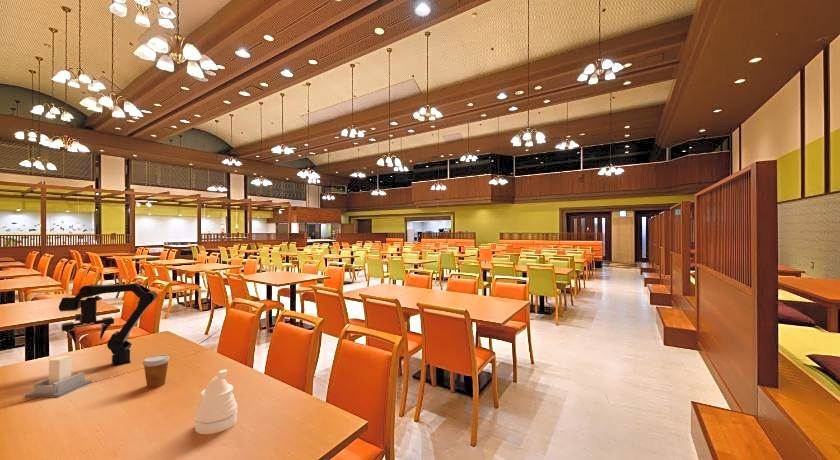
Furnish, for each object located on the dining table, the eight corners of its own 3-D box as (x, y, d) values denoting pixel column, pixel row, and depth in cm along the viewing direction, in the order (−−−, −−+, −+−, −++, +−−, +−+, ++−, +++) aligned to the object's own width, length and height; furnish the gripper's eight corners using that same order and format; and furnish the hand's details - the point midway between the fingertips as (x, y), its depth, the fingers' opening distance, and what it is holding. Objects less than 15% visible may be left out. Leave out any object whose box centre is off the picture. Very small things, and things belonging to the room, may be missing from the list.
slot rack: (61, 382, 154) (61, 371, 154) (91, 382, 154) (92, 371, 154) (24, 396, 140) (25, 384, 140) (58, 397, 140) (59, 384, 140)
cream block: (61, 384, 149) (61, 355, 149) (71, 384, 149) (71, 355, 149) (48, 389, 144) (49, 359, 144) (59, 389, 144) (59, 360, 144)
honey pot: (228, 410, 130) (229, 363, 130) (243, 422, 122) (244, 371, 122) (189, 424, 120) (190, 373, 120) (202, 438, 112) (203, 383, 112)
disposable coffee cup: (174, 380, 156) (175, 354, 156) (156, 390, 146) (157, 362, 146) (155, 379, 157) (155, 353, 157) (136, 389, 147) (136, 361, 147)
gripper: (110, 304, 184) (110, 333, 184) (60, 310, 170) (60, 341, 170) (114, 307, 177) (114, 337, 177) (62, 314, 163) (61, 346, 163)
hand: (88, 340), depth 172 cm, fingers open, 9 cm apart
